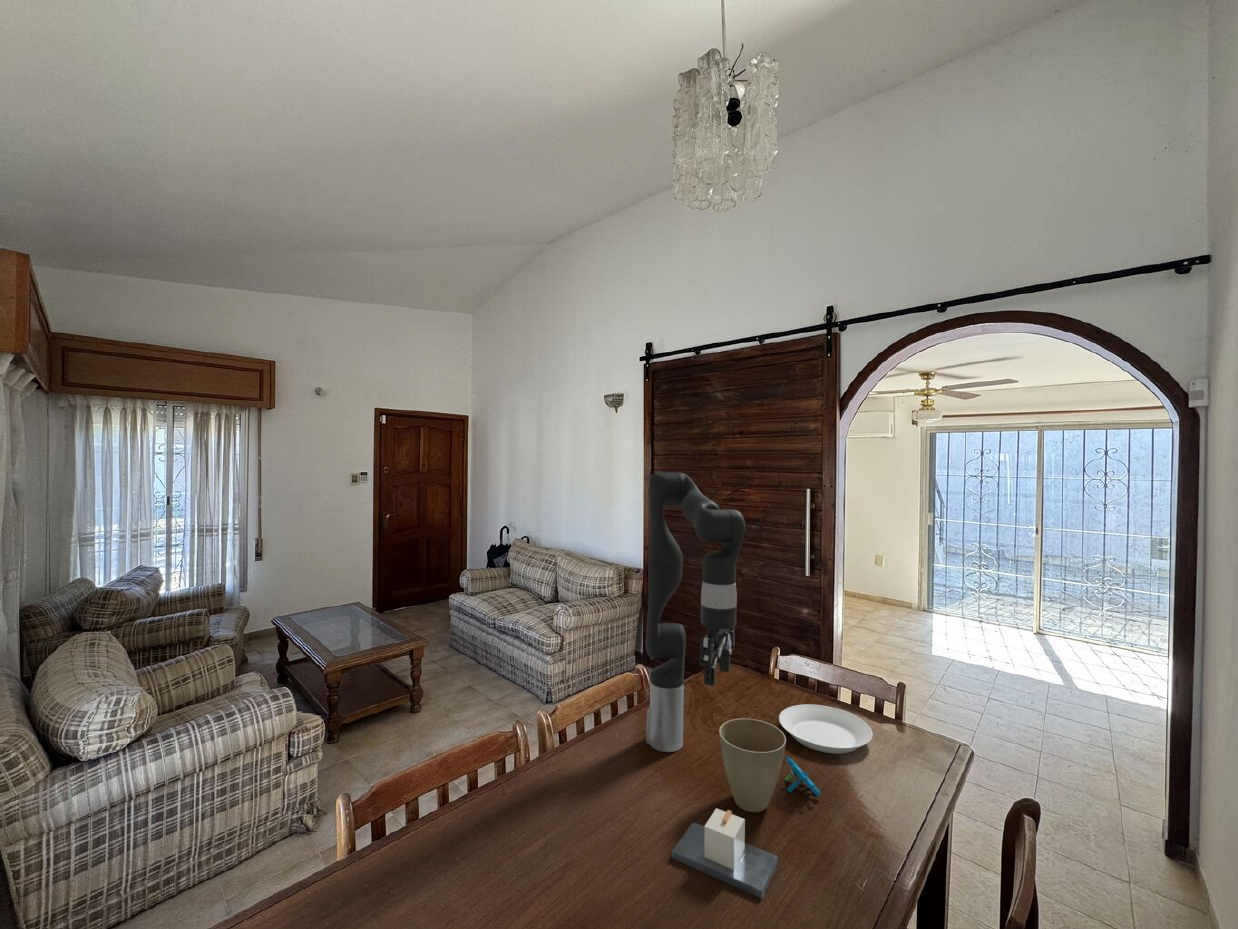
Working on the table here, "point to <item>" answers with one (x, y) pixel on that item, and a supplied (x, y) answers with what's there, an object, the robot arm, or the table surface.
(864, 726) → the bowl
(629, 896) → the table surface
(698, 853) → the panel
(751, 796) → the plant pot
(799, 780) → the gear
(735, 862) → the white and orange block
